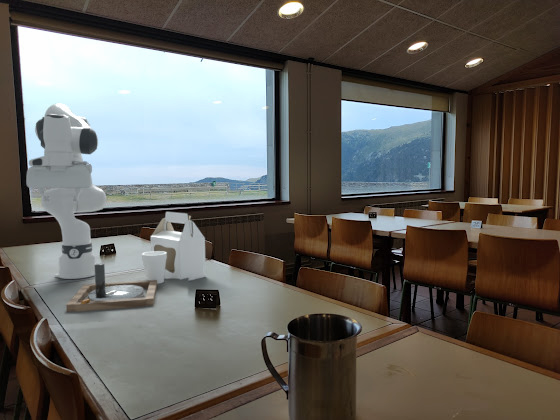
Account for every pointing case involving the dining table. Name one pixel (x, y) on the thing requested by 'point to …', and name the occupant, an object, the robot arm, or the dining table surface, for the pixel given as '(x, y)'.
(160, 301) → the dining table surface
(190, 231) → the gable box
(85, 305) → the wooden tray
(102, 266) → the dial
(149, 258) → the foam cup
